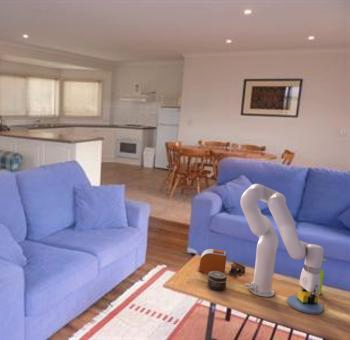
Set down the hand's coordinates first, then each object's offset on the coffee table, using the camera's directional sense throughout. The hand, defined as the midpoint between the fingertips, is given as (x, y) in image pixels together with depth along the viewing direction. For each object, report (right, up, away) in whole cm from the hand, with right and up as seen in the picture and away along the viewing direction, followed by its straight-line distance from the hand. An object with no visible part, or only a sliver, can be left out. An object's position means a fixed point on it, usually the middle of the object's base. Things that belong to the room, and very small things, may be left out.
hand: (307, 300), depth 194 cm
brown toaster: (-39, +6, +35) cm, 53 cm away
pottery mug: (-25, +4, +31) cm, 40 cm away
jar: (-43, +2, +14) cm, 45 cm away
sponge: (0, 0, 0) cm, 1 cm away
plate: (-2, -2, -1) cm, 3 cm away
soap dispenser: (+12, 0, +13) cm, 18 cm away
